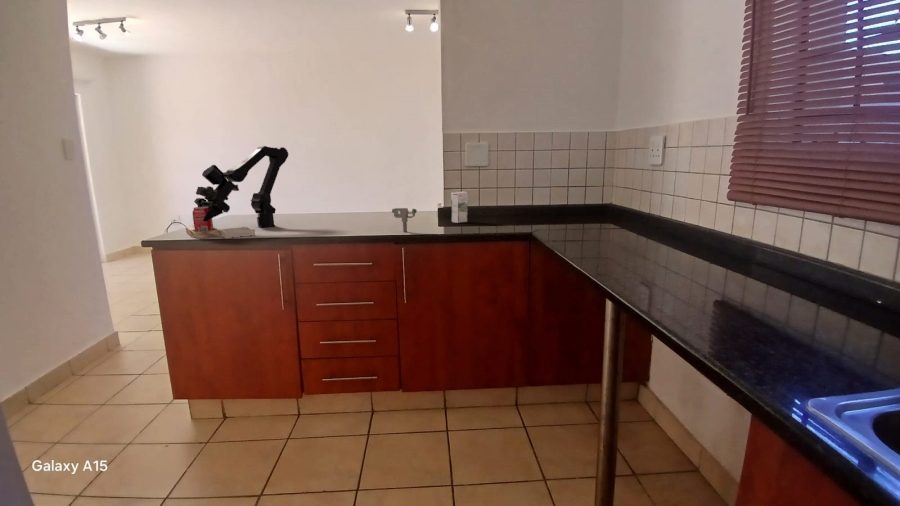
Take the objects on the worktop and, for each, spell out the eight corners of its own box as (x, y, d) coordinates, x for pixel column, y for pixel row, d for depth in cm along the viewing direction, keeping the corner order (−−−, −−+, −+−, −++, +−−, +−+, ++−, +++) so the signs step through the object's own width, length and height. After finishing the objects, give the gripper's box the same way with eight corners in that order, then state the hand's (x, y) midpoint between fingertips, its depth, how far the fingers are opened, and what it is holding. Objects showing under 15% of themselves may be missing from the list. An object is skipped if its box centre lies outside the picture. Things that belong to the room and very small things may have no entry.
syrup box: (461, 220, 228) (460, 191, 225) (468, 222, 223) (467, 191, 220) (451, 222, 225) (450, 191, 222) (458, 223, 220) (457, 192, 217)
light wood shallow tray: (210, 230, 212) (210, 224, 212) (219, 235, 197) (219, 229, 196) (186, 232, 207) (185, 227, 206) (194, 238, 191) (193, 232, 191)
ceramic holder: (248, 231, 206) (247, 226, 205) (255, 235, 197) (254, 229, 196) (219, 234, 199) (218, 229, 199) (225, 238, 190) (224, 232, 190)
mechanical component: (415, 232, 195) (414, 209, 193) (392, 232, 197) (391, 208, 195) (417, 231, 198) (416, 208, 196) (394, 231, 200) (393, 208, 198)
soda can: (208, 233, 203) (205, 206, 200) (217, 234, 199) (213, 206, 196) (192, 236, 197) (188, 207, 195) (200, 237, 193) (196, 208, 191)
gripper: (195, 179, 201) (172, 207, 195) (219, 179, 191) (195, 209, 184) (215, 196, 209) (194, 223, 203) (239, 197, 199) (217, 226, 192)
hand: (199, 220), depth 195 cm, fingers closed on soda can, 6 cm apart
